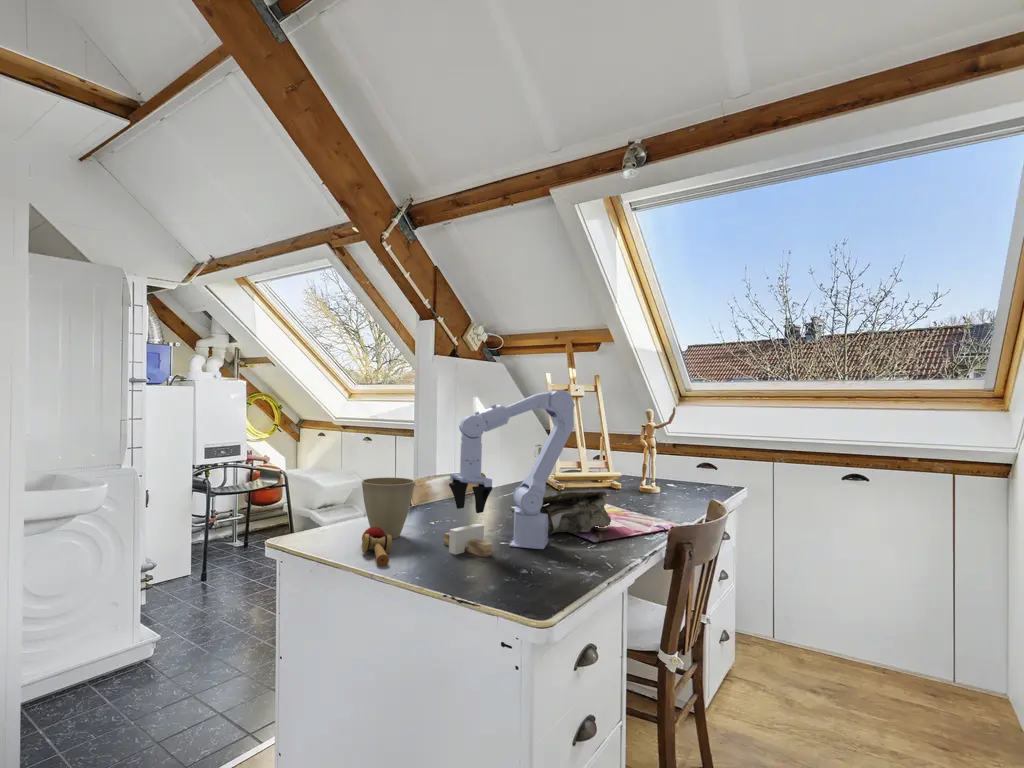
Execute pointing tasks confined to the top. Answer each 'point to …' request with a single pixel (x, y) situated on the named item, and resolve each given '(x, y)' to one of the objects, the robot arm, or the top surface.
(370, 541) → the kendama
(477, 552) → the wooden bar
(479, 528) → the white flat block
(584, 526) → the hollow geode rock
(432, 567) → the top surface
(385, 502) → the plant pot
